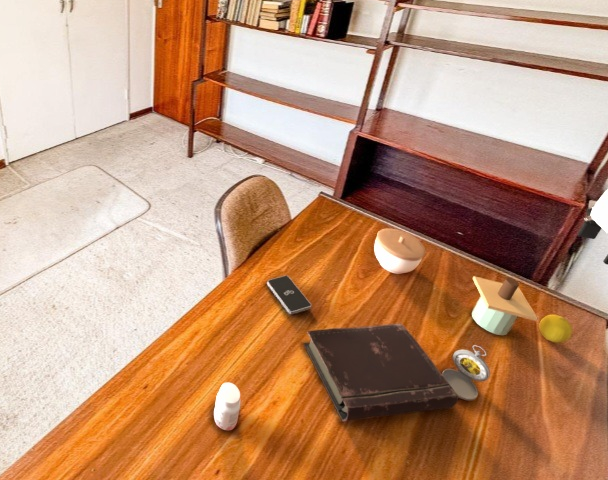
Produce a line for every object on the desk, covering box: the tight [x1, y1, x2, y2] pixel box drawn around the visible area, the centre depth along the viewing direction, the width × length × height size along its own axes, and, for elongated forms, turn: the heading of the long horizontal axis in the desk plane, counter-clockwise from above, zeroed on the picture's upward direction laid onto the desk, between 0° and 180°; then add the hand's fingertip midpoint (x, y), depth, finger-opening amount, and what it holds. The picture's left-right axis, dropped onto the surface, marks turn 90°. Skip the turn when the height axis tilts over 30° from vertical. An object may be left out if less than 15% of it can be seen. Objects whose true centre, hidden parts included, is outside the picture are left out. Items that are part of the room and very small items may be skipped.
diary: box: [302, 323, 459, 422], centre depth 89 cm, size 19×25×5 cm
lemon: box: [538, 314, 573, 344], centre depth 98 cm, size 6×6×8 cm
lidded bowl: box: [373, 227, 426, 275], centre depth 119 cm, size 13×13×11 cm
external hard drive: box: [266, 275, 312, 317], centre depth 108 cm, size 7×11×2 cm, turn 19°
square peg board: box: [472, 275, 539, 322], centre depth 99 cm, size 10×10×6 cm
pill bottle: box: [213, 382, 242, 431], centre depth 79 cm, size 5×5×8 cm
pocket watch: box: [441, 344, 491, 401], centre depth 87 cm, size 8×8×10 cm
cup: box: [471, 295, 519, 336], centre depth 102 cm, size 8×8×8 cm
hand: (598, 250), depth 92 cm, fingers open, 9 cm apart
